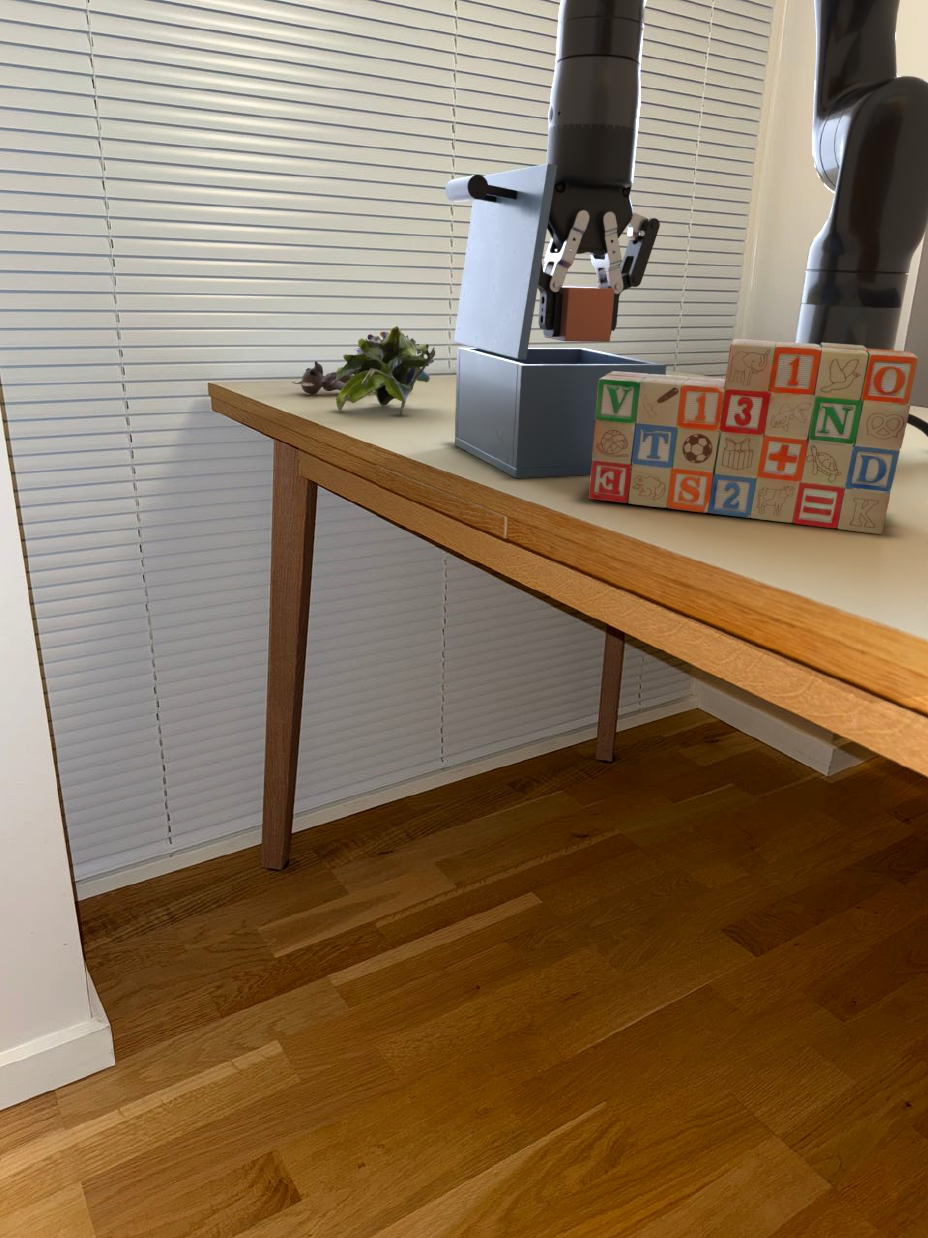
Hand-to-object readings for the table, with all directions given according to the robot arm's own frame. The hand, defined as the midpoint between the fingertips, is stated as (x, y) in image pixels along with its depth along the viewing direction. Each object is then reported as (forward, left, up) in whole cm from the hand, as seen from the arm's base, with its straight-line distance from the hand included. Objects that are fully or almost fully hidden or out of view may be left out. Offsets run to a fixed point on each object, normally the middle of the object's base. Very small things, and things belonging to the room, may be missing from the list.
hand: (577, 335), depth 85 cm
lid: (+8, 0, +6) cm, 10 cm away
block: (0, 0, 0) cm, 0 cm away
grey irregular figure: (+10, -46, -11) cm, 48 cm away
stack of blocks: (-4, +21, -11) cm, 24 cm away
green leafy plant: (+9, -30, -11) cm, 33 cm away
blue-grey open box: (+2, 0, -11) cm, 11 cm away
